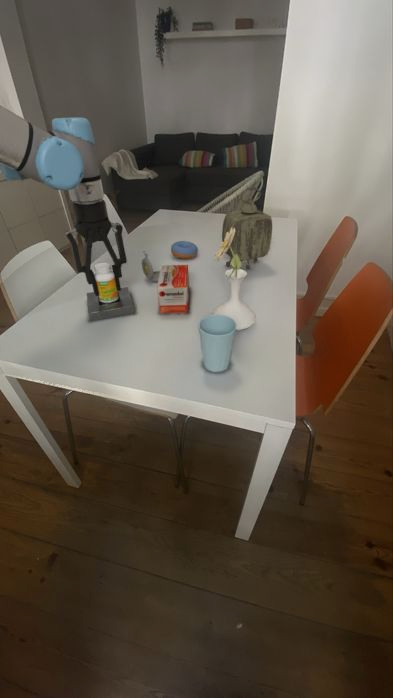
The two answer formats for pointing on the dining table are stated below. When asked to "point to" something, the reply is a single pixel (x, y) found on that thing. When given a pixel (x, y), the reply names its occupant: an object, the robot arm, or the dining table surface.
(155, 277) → the pocket watch
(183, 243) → the doughnut
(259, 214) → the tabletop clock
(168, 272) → the medicine box
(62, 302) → the dining table surface
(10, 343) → the dining table surface
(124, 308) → the bottle stand
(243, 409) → the dining table surface
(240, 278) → the flower in vase
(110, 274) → the supplement bottle
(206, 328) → the cup
